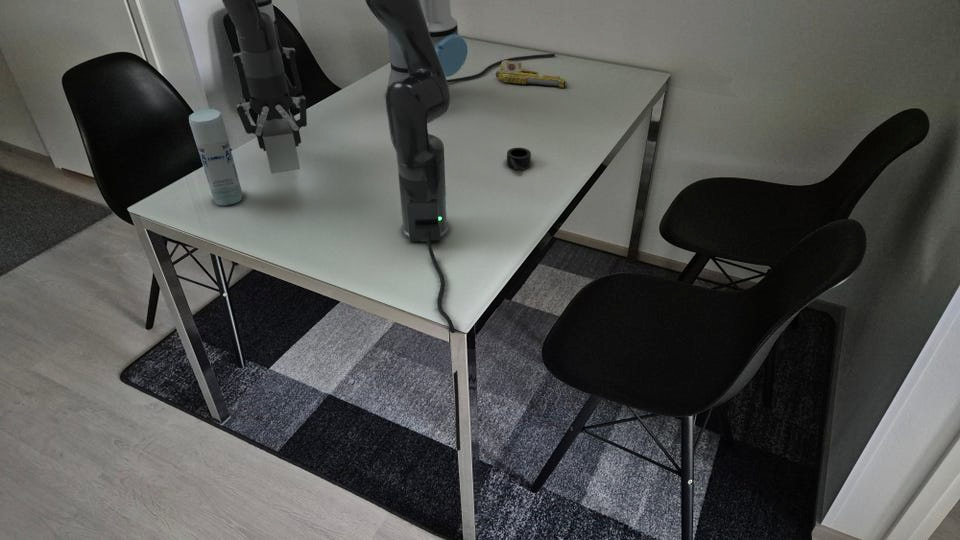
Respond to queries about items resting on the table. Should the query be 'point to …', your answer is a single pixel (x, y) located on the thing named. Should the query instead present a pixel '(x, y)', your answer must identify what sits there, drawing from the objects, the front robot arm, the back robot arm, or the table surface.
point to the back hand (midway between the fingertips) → (279, 122)
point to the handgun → (526, 75)
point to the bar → (280, 146)
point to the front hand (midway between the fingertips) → (281, 147)
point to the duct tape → (518, 158)
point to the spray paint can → (216, 156)
